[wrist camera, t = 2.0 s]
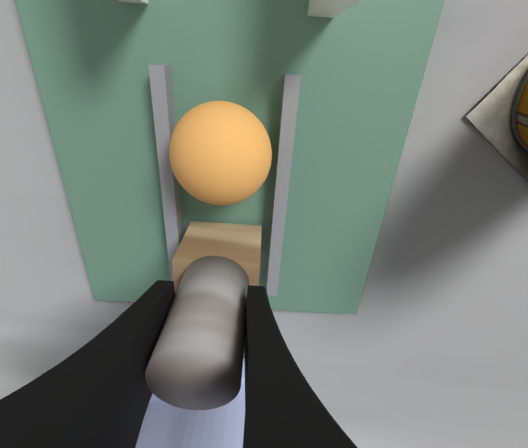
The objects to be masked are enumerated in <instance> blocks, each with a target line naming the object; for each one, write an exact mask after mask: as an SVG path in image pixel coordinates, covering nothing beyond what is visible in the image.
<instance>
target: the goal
mask: <svg viewBox="0 0 528 448" xmlns="http://www.w3.org/2000/svg"><path fill="white" fill-rule="evenodd" d="M118 1H121V2H129V3H142V4H148V0H118ZM359 1H360V0H309V6H308V15H307V16H315V17H329V18H334V17H336V16H337V15H339V14H340V13H342V12H343V11H345V10H346V9H348V8H349V7H351V6H353V5H354V4H356V3H357V2H359Z"/></svg>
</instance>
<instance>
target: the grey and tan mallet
mask: <svg viewBox="0 0 528 448" xmlns="http://www.w3.org/2000/svg"><path fill="white" fill-rule="evenodd" d="M261 229H262V225H246V224H229V223H213V222H197V221H191V222H190V224H189V226H188V228H187V230H186V232H185V234H184V237H183V239H182V241H181V243H180V245H179V247H178V249H177V251H176V253H175V255H174V257H173V259H172V270H173V280H174V289H175V297H174V300H173V303H172V305H171V308H170V310H169V313H168V315H167V318H166V320H165V323H164V325H163V328H162V330H161V333H160V335H159V338H158V341H157V343H156V346H155V348H154V351H153V353H152V356H151V358H150V361H149V363H148V366H147V369H146V371H145V381H146V384H147V386H148V388H149V389H150V391H151V392H152V393H153V394H154V395H155V396H156V397H158V398H159V399H161V400H162V401H164V402H166V403H168V404H170V405H172V406H175V407H178V408H182V409H188V410H210V409H215V408H219V407H221V406H224V405H226V404H228V403H229V402H231V401H232V400H233V399H234V398H235V397H236V396H237V395H238V393H239V391H240V389H241V380H242V368H243V356H244V344H245V331H246V302H247V290H248V285H253V286H259V275H260V255H261Z"/></svg>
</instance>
